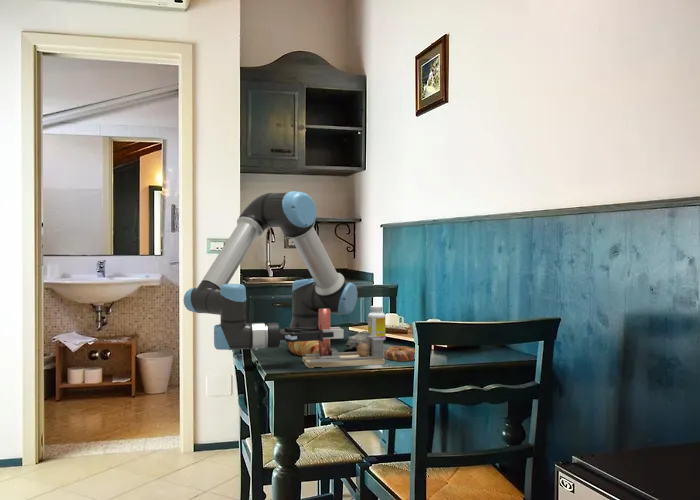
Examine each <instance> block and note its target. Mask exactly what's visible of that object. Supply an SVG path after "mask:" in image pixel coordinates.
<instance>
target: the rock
mask: <svg viewBox="0 0 700 500" xmlns="http://www.w3.org/2000/svg"><path fill="white" fill-rule="evenodd" d="M370 335H373V334H371V333H370V332H368V330H363V331H358V332H357V333H356V334H355V335H352V336H350V337H349V338H348V339H347V342H346V343H345V344H344V349H345V348H346V347H348V348H349V347H350V348H351V350H355V349H356V350H357V347H358V345H359V344H361V343H366V344H367V336H370Z"/></svg>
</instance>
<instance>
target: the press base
mask: <svg viewBox="0 0 700 500" xmlns="http://www.w3.org/2000/svg"><path fill="white" fill-rule="evenodd" d="M338 355H339V356H340V358H333V359H318V358H317V357H316V354H306V356H302V363H303V362H304V363H303V364H304V365H305V366H306V368H307V367H308V368H307V369H315V368H314V367H322V368H337V367H340V368H341V367H356V366H358V367H359V366H373V365H377V366H378V365H385V363H386V358H385V357H384V340H383V339H382V338H380V337H378V336H376V335H370V336H367V344H366V343H361V344H359V345H358V347H357V349H356V351H347V352H338Z"/></svg>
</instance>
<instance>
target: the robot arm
mask: <svg viewBox="0 0 700 500" xmlns="http://www.w3.org/2000/svg"><path fill="white" fill-rule="evenodd" d="M316 210H317V207H316V203H315V202H314V200H313V198H312V197H311V196H310V195H309V194H307V193H306V192H302V191H293V190H292V191H288V192H267V193H263V194H260V195H259V196H258V197H256V198H255V199H253V200H252V201H251V202H250V203H248V205H247V206H246V207H245V208H244V210H243V211H242V212H241V213H240V215H239V216H238V218H237V219H236V227H235V228H234V229H233V231H232V233H231V234H230V236H229V237H228V239H227V241H226V242H225V244H224V245H223V247H222V248H221V250H220V252H219V253H218V255H217V256H216V258H215V260H213V263H212V264H211V266H210V267H209V268H208V270H207V272H206V274H205V275H204V276H203V278H202V280H201V282H200V283H199V285H198V286H197V287H192V288H189V289H188V290H186V292H185V293H184V296H183V306H184V307H185V308H186V310H187V311H189V312H192V313H197V314H209V315H218V316H220V317H219V318H220V322H219V324H215V325H214V327H213V345H214V349H216V350H218V351H219V350H221V351H223V350H226V351H227V350H229V351H233V350H249V349H250V350H251V349H254V351H258V350H259V349H265V348H268V349H276V348H280V346H281V341H285V343H287V342H298V341H317V340H318V341H321V342H323V339H330V340H331V339H332V340H333V339H335V340H336V339H344V335H345V334H344V329H343V328H341V326H334V327H333V326H330V330H320V331H319V309H321V308H328V309H330V314H334V315H347V314H348V315H349V314H351V313H352V312H353V311H354V309H355V307H356V305H357V301H358V289H357V286H356V284H354V283H352V282H347V280H346V279H345V276H344V275H343V274H342V273H341V272H337V270H336V268H335V266H334V264H333V263H332V261H331V259H330V257H329V255H328V253H327V250H326V249H325V246H324V245H323V243H322V241H321V239H320V237H319V235H318V233H317V232H316V230H315V229H316V228H314V227H315V224H316V218H317V211H316ZM270 228H280V230H281V231H282V234H283V235H284V236H285V238H288V239H291V240H292V243H293V244H294V246H295V248H296V250H297V251H298V254H299V255H300V257H301V259H302V260H303V262H304V264H305V266H306V268H307V271H309V273H310V276H311V277H312V278H306V279H304V278H303V279H296V280H294V281H293V282H292V290H291V300H292V301H291V303H292V304H291V307H292V310H291V311H292V318H291V322H290V325H289V327H287V326H286V327H284V329H281V326H280V323H279V322H268V323H266V324H265V322H254V323H253V322H252V323H247V291H246V286H245V285H244V284H243V283H241V284H240V283H230V282H231V279H232V278H233V276H234V275H235V273H236V271H237V270H238V268H239V267H240V265H241V263H242V262H243V261H244V258H245V257H246V255H247V253H248V252H249V251H250V249H251V247H252V245H253V244H254V242H255V241H256V239H257V237H261V236H262V234H264V232H265V231H266V230H267V229H270Z"/></svg>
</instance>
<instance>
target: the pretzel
mask: <svg viewBox="0 0 700 500" xmlns="http://www.w3.org/2000/svg"><path fill="white" fill-rule="evenodd" d="M415 349H416V348H415V347H409V346H406V345H403V346H402V345H401V346H400V345H391V346H390V347H388V348H387V349H386V350H385V351H384V352H383V357H384V359H385V360H386V359H387V360H388V361H395V362H412V361H415V360H414V354H415Z"/></svg>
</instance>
